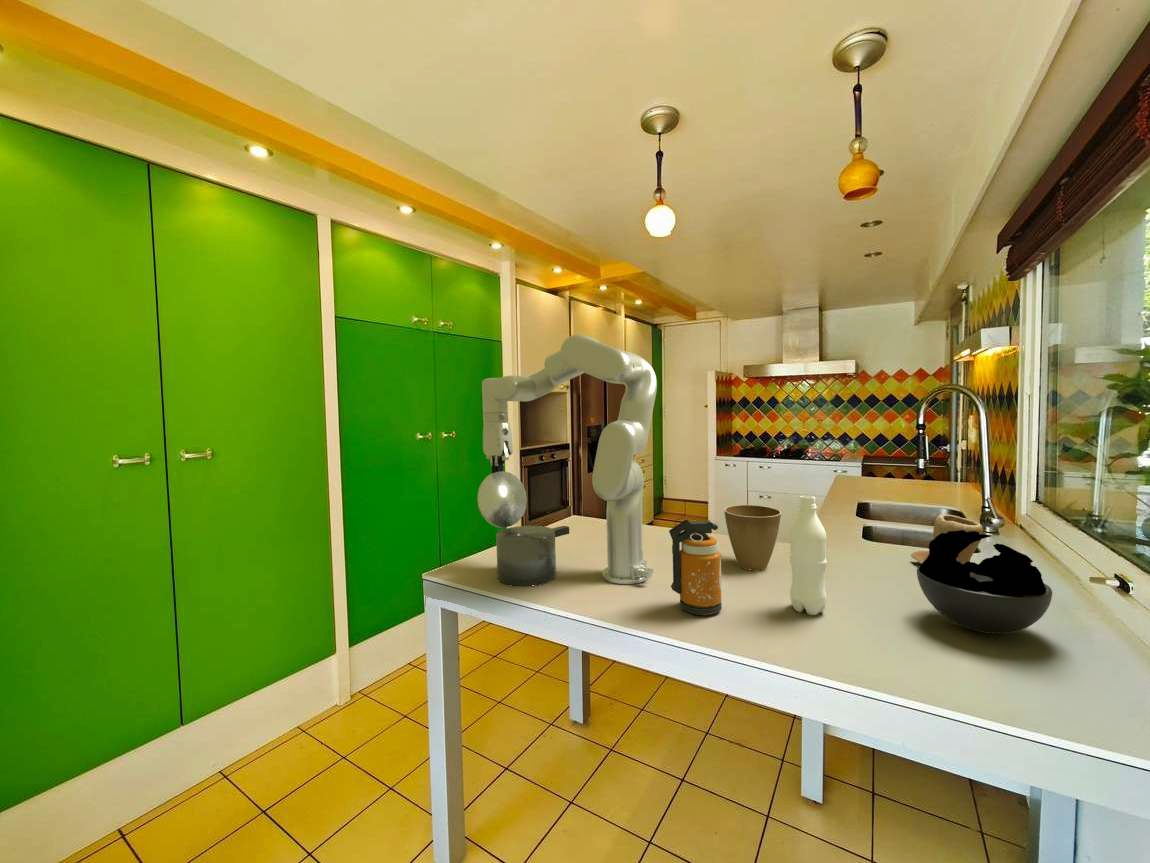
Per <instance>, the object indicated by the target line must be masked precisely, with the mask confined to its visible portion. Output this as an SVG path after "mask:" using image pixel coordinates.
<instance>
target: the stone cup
mask: <svg viewBox="0 0 1150 863" xmlns="http://www.w3.org/2000/svg"><path fill="white" fill-rule="evenodd" d="M983 528H984V527H983V525H982V524H981V523H979V522H977V521H974V520H971V519H969V518H963V517H962V516H961V517H960V516H958V515H953V514H944V513H943V514H939V515H937V517H935V520H934V523H933V532H932V537H933V539H935V537H936V536H938V535H939V534H941V533H945V534H946V533H947V532H948V531H959V530H964V531H966V532H970V531H977V532H979V534H984V529H983ZM981 540H982V539H981ZM981 540H980V541H976V542H973V543H972V544H969V546H968V547H967V548H965V549H964V550H963V551H961V552H960V553H959V556H958V557H957V558H956V560H957V561H958V562H961V563H965V562H971V559H972V557H973V554H974V553H975V551H976V550H977V548H978V547H979V545H980V543H981ZM928 555H929V550H920V551H919V550H918V551H914V552H911V554H910V557H911V558H912V559H914V560H915V561H917V562H918V563H919V564H920V565H921V564H922V563H923V561H924V560H925V559H926V558H927V557H928Z"/></svg>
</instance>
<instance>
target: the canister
mask: <svg viewBox="0 0 1150 863" xmlns="http://www.w3.org/2000/svg"><path fill="white" fill-rule="evenodd" d="M718 529H719V526H718V525H717V524H716V523H713V522H712V521H710V520H706V519H705V520H702V521H701V520H699V521H698V520H697V521H695V520H694V521H691V520H690V521H689V520H688V519H685V520H682V521H681V522H680V523H679V524H677V525H675V526H673V527H672V528H671V529H669V530H668V533H669V535H670V537H671V540H672V545H671V554H672V580H673V581H672V583H671V585H670V587H671V590H672V591H674V592H675V593H677V594H679V607H680V608H682V609H683V610H685V611H686V612H688V613H691V614H694V615H698V614H699V615H700V616H707V615H712V614H713V615H714V614H717V613H719V612H720V611H721V610H722V606H723V605H722V553H721V552H720V551H719V542H718V541H717V538H715V537H714V536H712V535H708V534H712V533H713V531H717V530H718ZM680 543H681V544H680ZM680 545H681V547H680Z"/></svg>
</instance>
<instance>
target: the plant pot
mask: <svg viewBox="0 0 1150 863" xmlns="http://www.w3.org/2000/svg"><path fill="white" fill-rule="evenodd" d="M723 512H724V517H725V522H726V529H727V534H728V537H729V541H730V544H731V549H732V551H733V553H734V556H735V557H734V558H736V559H735V560H736V562H737V565H738V566H739V567H740V566H741V567H743V568H742V569H744V568H746V569H745V570H747V569H751V570H750V571H755V570H758V571H763V570H762V569H764V570H766V569H767V567H768V565H769V563H770V560H771V557H772V554H773V552H774V549H775V546H776V543H777V542H776V541H777V537H778V534H779V529H780V524H781V523H780V522H781V517H782V511H781V510H780V509H776V508H774V507H771V506H764V505H760V504H759V505H757V504H755V505H754V504H737V505H736V504H735V505H731V506H730V505H729V506H727V507H726V506H725V508H723ZM741 567H740V568H741ZM765 568H766V569H765Z"/></svg>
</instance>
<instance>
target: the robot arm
mask: <svg viewBox="0 0 1150 863" xmlns="http://www.w3.org/2000/svg"><path fill="white" fill-rule="evenodd" d="M543 364H544V367H543V368H542V369H541V370H539V371H537V372H535V373H532V374H531V375H528V376H520V375H506V376H501V377H489V378H484V379H483V380H482V381H481V393H482V394H481V395H482V416H483V417H482V420H483V421H482V422H483V427H482V428H483V429H482V432H483V433H482V449H483V454H484V455H485V456H486V457H485V458H486V459H488V460H489V463H490V466H491V474H492V473H495V472H500V471H504V472H505V470H504V466H505V461H509V459H510V456H511V455H513V452H514V449H513V446H514V445H513V436H512V428H511V424H510V423H509V409H508V408H509V407H508V405H509V404H508V402H531V401H534V400H537V399H538V398H541V397H543V396H546V395H547V394H549V393H552V392H553V391H555V390H556V389H557V388H558V387H559V386H560V385H561V384H563V383H565V382H567V381H570V380H573V379H574V378H576V377H578V376H580V375H583V374H586V375H589V376H591V377H594V378H596V379H599V380H601V381H604V382H606V383H607V382H608V383H610V384H619V385H624V386H625V392H624V394H623V396H622V399H621V402H620V408H619V413H618V417H617V420H615V421H612V422H610V423H608V425H606V426H605V427H604V429H603V430H602V432H601V433H600V436H599V438H598V439H599V440H598V443H597V447H596V448H597V449H596V454H595V458H594V464H593V471H592V478H591V479H592V487H593V490H594V492H595V494H596V495H597V496H598V497H599V498H600V499H602V500H604V501H606V548H607V549H606V553H607V555H606V556H607V566H606V567H605V568H604V569H603V570H602V571H601V577H602V578H603V579H604V580H605V581H607V582H609V583H613V584H617V585H634V584H639V583H643V582H645V581H647V580H651V579H652V576H653V574H654V571H655V570H654V568H651V567H647V561H646V560H644V551H643V550H644V548H643V546H644V544H643V543H644V541H643V495H644V494H643V493H644V482H645V480H644V479H645V477H644V473H643V470H642V468H641V466H640V464H638V463H637V462H636V461H635V460H633V459H634V456H636V455H639V454H641V453H642V452H643V451H645V449H646V446H647V444H648V441H649V440H648V439H649V433H650V428H651V424H652V418H653V413H654V412H653V411H654V406H655V401H656V396H657V392H658V391H657V390H658V389H657V388H658V380H657V379H658V378H657V375H656V373H655V371H654V368H653V366H652V365H651V364H650V363H649V362H648V361H647V360H646V359H644V358H643V357H641V356H640V355H638V354H636V353H634V352H629V351H625V350H622V349H619V348H616V347H613V346H610V345H608V344H604V343H601V342H599V340H597V339H595V338H593V337H591V336H586V335H583V334H573V335H571V336H568V337H566V338H565V339H564V341H563V343H562V344H561V347H560V350H558V351H556V352H554V353H553V354H549V355H548V356H546V358H545V360H544V362H543Z"/></svg>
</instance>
